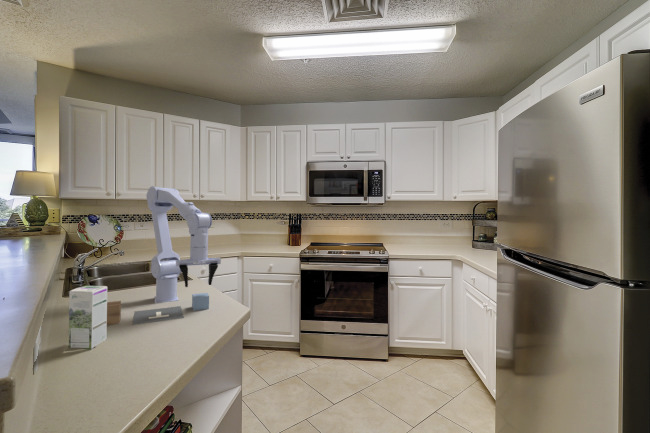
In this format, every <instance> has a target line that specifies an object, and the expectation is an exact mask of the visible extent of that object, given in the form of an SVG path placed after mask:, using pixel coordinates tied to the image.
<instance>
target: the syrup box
mask: <svg viewBox="0 0 650 433" xmlns="http://www.w3.org/2000/svg"><path fill="white" fill-rule="evenodd" d="M68 294H69V296H68V297H69V298H68V299H69V302H68V312H69V313H68V348H70V349H81V350H92V349H95V348H96V347H97V345H99V344H101V343H102V342H104V341H106V340H107V339H108V338H107V333H108V331H107V330H108V328H107V326H108V325H107V302H108V286H106V285H83V286H79V287H76V288H74V289H71V290H69V293H68Z"/></svg>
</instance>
